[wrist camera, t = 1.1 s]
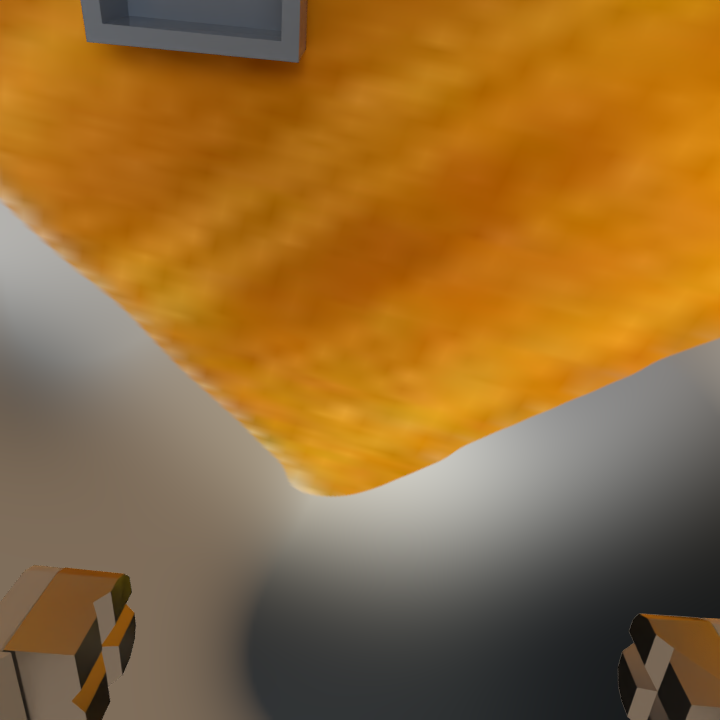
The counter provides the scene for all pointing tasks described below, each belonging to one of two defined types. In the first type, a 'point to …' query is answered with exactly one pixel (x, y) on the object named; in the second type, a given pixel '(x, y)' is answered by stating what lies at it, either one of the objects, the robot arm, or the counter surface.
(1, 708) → the robot arm
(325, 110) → the counter surface
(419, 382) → the counter surface
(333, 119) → the counter surface
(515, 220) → the counter surface
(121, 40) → the grey storage tray
